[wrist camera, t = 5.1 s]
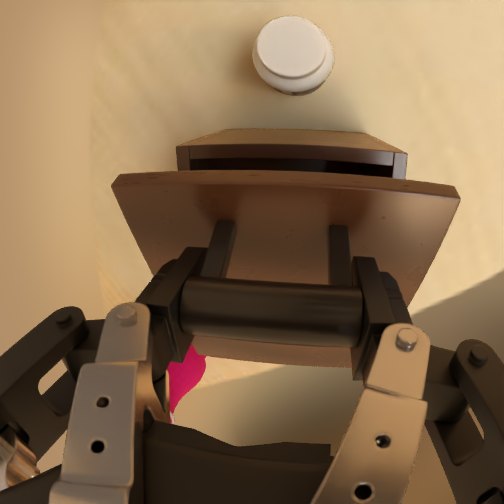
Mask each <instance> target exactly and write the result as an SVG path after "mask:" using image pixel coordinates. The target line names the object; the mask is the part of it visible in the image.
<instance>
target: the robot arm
mask: <svg viewBox="0 0 504 504" xmlns="http://www.w3.org/2000/svg"><path fill="white" fill-rule="evenodd" d="M207 250H208V248H207V247H186V248H185V250H184V251H183V252H182V254H181V255H180V256H179V258H178V259H172V260H170V261H169V262H167V263H166V264H164V265H162V267H161V268H160V269H159V271H158V272H157V273H156V275H155V276H154V277H153V278H152V280H151V282H149V283H148V285H147V286H146V287H145V289H144V290H143V291H142V293H141V294H140V295H139V297H138V298H137V299H136V301H135V302H128V303H124V304H121V305H118V306H116V307H115V308H113V309H112V310H111V311H110V312H109V313H108V314H107V316H106V319H101V320H86V319H85V316H84V314H83V312H82V310H81V309H80V308H78V307H74V306H70V307H64V308H61V309H59V310H57V311H55V312H53V313H52V314H51V315H50V316H48V317H47V318H46V319H45V320H43V321H42V322H41V323H40V324H38V325H37V326H36V327H35V328H33V329H32V330H31V331H30V332H29V333H27V334H26V335H25V336H24V337H23V338H21V339H20V340H19V341H18V342H17V343H16V344H14V345H13V346H12V347H11V348H9V350H7V351H6V352H5V353H4V354H3V355H2V356H0V504H402V502H403V499H404V496H405V493H406V490H407V487H408V484H409V481H410V477H411V474H412V471H413V468H414V464H415V460H416V456H417V453H418V449H419V445H420V441H421V437H422V432H423V428H424V424H425V426H426V429H427V431H428V433H429V435H430V437H431V440H432V442H433V445H434V447H435V449H436V452H437V454H438V457H439V459H440V461H441V464H442V466H443V468H444V471H445V474H446V476H447V479H448V481H449V484H450V487H451V489H452V492H453V494H454V497H455V500H456V503H457V504H504V364H503V363H502V361H501V360H500V358H499V357H498V356H497V354H496V353H495V352H494V350H493V349H492V348H491V347H490V346H489V345H487V344H486V343H483V342H481V341H479V340H474V339H469V340H465V341H463V342H461V343H460V344H459V346H458V347H457V349H456V351H452V350H447V349H443V348H439V347H435V346H432V345H430V340H429V338H428V336H427V334H426V333H425V332H424V331H422V330H421V329H420V328H418V327H417V326H414V325H413V323H412V321H411V318H410V315H409V312H408V309H407V307H406V304H405V301H404V299H403V296H402V293H401V291H400V288H399V286H398V283H397V281H396V279H395V278H394V277H393V276H391V275H390V274H389V273H388V272H382V271H379V269H378V266H377V263H376V260H375V258H374V257H363V256H353V258H352V277H353V286H359V287H360V288H361V290H362V294H363V301H364V317H363V327H362V333H361V337H360V340H359V343H358V345H357V346H356V347H355V348H350V353H351V364H352V376H353V380H363V387H364V388H363V391H362V393H361V396H360V398H359V401H358V404H357V406H356V408H355V411H354V413H353V416H352V418H351V421H350V423H349V425H348V427H347V430H346V432H345V434H344V437H343V439H342V441H341V443H340V445H339V447H338V449H337V451H336V453H335V456H330V446H331V445H330V444H309V443H292V442H281V443H274V444H264V445H254V446H242V447H237V446H233V445H230V444H228V443H225V442H223V441H220V440H218V439H216V438H213V437H211V436H208V435H206V434H204V433H202V432H200V431H197V430H195V429H192V428H187V427H183V426H178V425H174V424H171V421H170V399H169V373H168V370H167V368H168V366H169V364H170V362H176V363H183V361H184V359H185V357H186V354H187V352H188V350H189V348H190V346H191V343H192V341H193V339H194V337H195V335H190V334H186V333H185V332H184V331H183V330H182V328H181V325H180V319H179V303H180V296H181V292H182V288H183V286H184V283H185V281H186V280H187V278H188V277H190V276H193V275H194V276H200V272H201V269H202V266H203V263H204V259H205V256H206V253H207ZM61 359H62V361H63V363H64V364H65V366H66V368H67V371H66V372H65V373H64V374H63V375H62V376H61V377H60V378H59V379H58V380H57V381H56V382H55V383H54V384H53V385H52V386H51V387H50V388H49V389H48V390H47V391H46V392H45V393H44V394H42V395H41V394H40V393H39V391H38V383H39V381H40V379H41V378H42V377H43V376H44V375H45V374H46V373H47V372H48V371H49V370H50V369H52V368H53V367H54V366H55V365H56V364H57V363H58V362H59V361H60V360H61ZM470 407H471V408H472V410H473V412H474V414H475V416H476V418H477V420H478V421H479V423H480V425H481V427H482V429H483V432H484V440H483V439H482V436H481V434H480V432H479V430H478V428H477V426H476V425H475V423H474V421H473V419H472V417H471V415H470V413H469V412H468V409H469V408H470ZM66 430H67V434H66V440H65V448H64V453H63V461H62V464H60V465H58V466H56V467H54V468H51V469H49V470H47V471H45V472H43V473H41V474H40V470H39V469H38V468H37V467H36V464H37V462H38V461H39V460H40V459H41V457H42V456H43V455H44V454H45V453H46V452H47V451H48V450H49V448H50V447H51V446H52V445H53V444H54V443H55V442H56V441H57V440H58V439H59V437H60V436H61V435H62V434H63V433H64V432H65V431H66Z"/></svg>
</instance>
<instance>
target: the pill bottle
mask: <svg viewBox="0 0 504 504" xmlns="http://www.w3.org/2000/svg"><path fill="white" fill-rule="evenodd" d="M252 58H253V63H254V66H255V68H256V70H257V72H258V74H259V75H260V76H261V78H262V79H263V80H264V81H265V82H266V83H268V84H269V85H271V86H272V87H274V88H275V89H277V90H279V91H280V92H283V93H285V94H288V95H294V96H301V95H306V94H310V93H312V92H314V91H315V90H317V89H318V88H319V87H320V86H321V85H322V84H323V83H324V82H325V80H326V78H327V77H328V76H329V74H330V72H331V70H332V68H333V64H334V50H333V47H332V44H331V41H330V40H329V38H328V37H327V35H326V34H325V33H324V32H323V31H322V30H321V29H320V28H319V27H317V26H316V25H315V24H314V23H312V22H311V21H309V20H307V19H305V18H302V17H298V16H282V17H279V18H276V19H274V20H271V21H270V22H269V23H267V24H266V25H265V26H264V27H263V28H262V30H261V31H260V33H259V35H258V36H257V38H256V40H255V42H254V45H253V50H252Z"/></svg>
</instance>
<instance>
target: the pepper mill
mask: <svg viewBox="0 0 504 504" xmlns="http://www.w3.org/2000/svg"><path fill="white" fill-rule="evenodd" d="M205 357H206V356H204V355H198V354H197V352H196V350H195V349H194V347H193V345H192V344H191V346H190V348H189V350H188V352H187V354H186V357H185V359H184V361H183V363H176V362H170V364H169V366H168V368H167V370H168V373H169V399H170V421H171V424H173V423H174V421H175V419H174V415H173V412H174V409H175V407H176V406H177V404H178V402H179V401H180V399H181V398H182V397H183V396H184V395H185V394H186V393H187V392H189V391H190V390H191V389H192V388H193V387H195V386H196V384H197V383H198V382H199V381H200V380H201V378H202V376H203V374H204V372H205V368H206V363H205Z"/></svg>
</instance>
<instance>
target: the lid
mask: <svg viewBox="0 0 504 504" xmlns="http://www.w3.org/2000/svg"><path fill="white" fill-rule="evenodd" d="M111 187H112V190H113V192H114V194H115V197H116V199H117V201H118V203H119V206H120V208H121V210H122V212H123V215H124V217H125V219H126V221H127V223H128V225H129V227H130V230H131V232H132V234H133V236H134V238H135V240H136V242H137V244H138V246H139V248H140V250H141V252H142V254H143V256H144V258H145V260H146V262H147V264H148V266H149V268H150V270H151V272H152V274H153V276H155V275H156V273H157V272H158V271H159V269H160V268H161V267H162V265H164V264H166V263H167V262H169V261H170V260H172V259H178V258H179V256H180V255H181V254H182V252H183V251H184V250H185V248H186V247H207V248H208V250H207V253H206V256H205V259H204V263H203V266H202V269H201V272H200V276H194V275H193V276H190V277H188V278H187V280H186V281H185V283H184V286H183V288H182V292H181V296H180V303H179V319H180V325H181V328H182V330H183V331H184V332H185V333H186V334H190V335H195V337H194V339H193V341H192V343H191V344H192V345H193V347H194V349H195V350H196V352H197V354H198V355H204V356H211V357H219V358H226V359H235V360H243V361H253V362H263V363H274V364H286V365H301V366H319V367H320V366H321V367H346V368H352V364H351V353H350V348H355V347H356V346H357V345H358V343H359V340H360V337H361V333H362V327H363V317H364V301H363V294H362V290H361V288H360V287H359V286H353V277H352V258H353V256H363V257H374V258H375V260H376V263H377V266H378V269H379V271H382V272H388V273H389V274H390V275H391V276H393V277H394V278H395V279H396V281H397V283H398V286H399V288H400V291H401V293H402V296H403V299H404V301H405V304H406V307H408V305H409V304H410V302H411V300H412V299H413V297H414V295H415V293H416V292H417V290H418V288H419V286H420V284H421V283H422V281H423V279H424V277H425V275H426V273H427V271H428V269H429V267H430V266H431V264H432V262H433V260H434V258H435V256H436V254H437V252H438V250H439V248H440V246H441V243H442V241H443V239H444V237H445V235H446V233H447V231H448V228H449V226H450V224H451V222H452V219H453V217H454V215H455V212H456V210H457V208H458V205H459V203H460V196H459V194H458V192H457V190H456V189H455V187H454V186H451V185H444V184H437V183H429V182H421V181H413V180H405V179H395V178H386V177H375V176H364V175H351V174H337V173H320V172H300V171H269V170H197V171H166V172H146V173H129V174H120V175H118V177H117V178H116V179H115V181H114V182H113V183H112V185H111Z"/></svg>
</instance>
